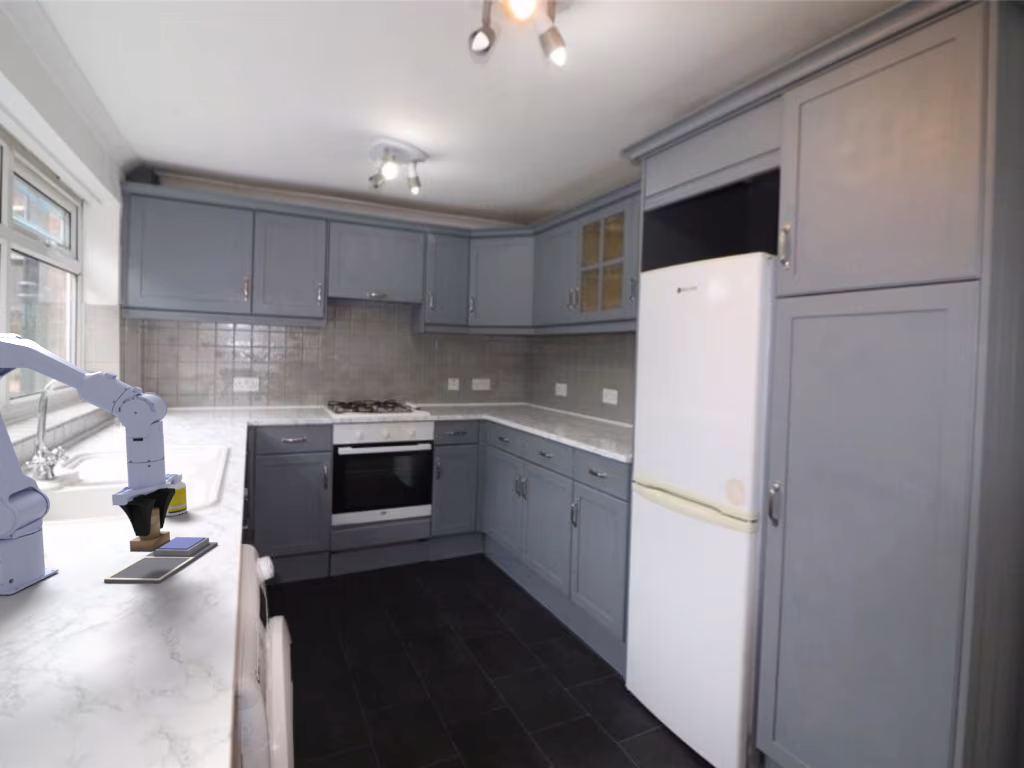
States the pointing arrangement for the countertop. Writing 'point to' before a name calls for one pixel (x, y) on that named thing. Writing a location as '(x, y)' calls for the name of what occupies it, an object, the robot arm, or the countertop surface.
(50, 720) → the countertop surface
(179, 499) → the supplement bottle
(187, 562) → the stamp mat
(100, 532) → the countertop surface
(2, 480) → the robot arm
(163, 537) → the stamp
